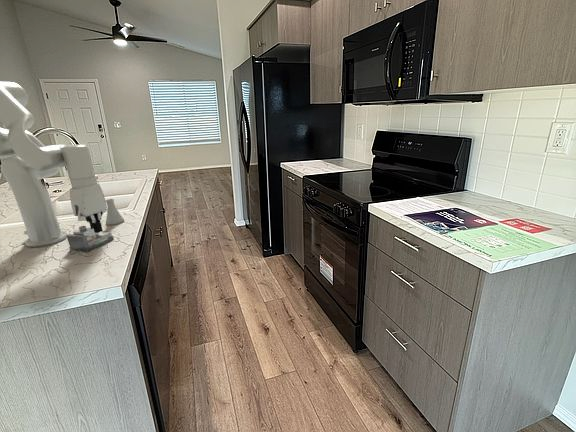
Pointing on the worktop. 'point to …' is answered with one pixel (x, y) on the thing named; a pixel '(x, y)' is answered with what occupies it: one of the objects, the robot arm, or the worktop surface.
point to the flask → (113, 213)
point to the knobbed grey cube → (85, 232)
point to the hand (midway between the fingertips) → (97, 231)
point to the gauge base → (83, 245)
